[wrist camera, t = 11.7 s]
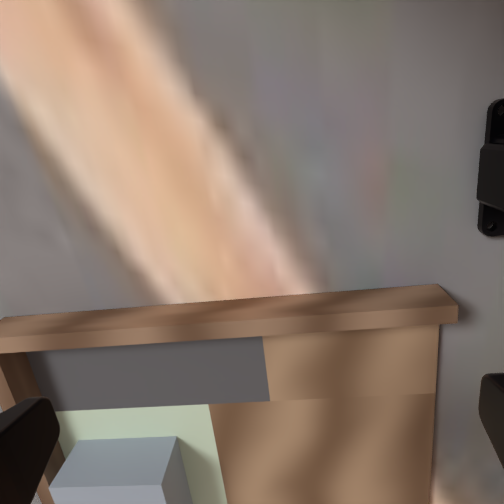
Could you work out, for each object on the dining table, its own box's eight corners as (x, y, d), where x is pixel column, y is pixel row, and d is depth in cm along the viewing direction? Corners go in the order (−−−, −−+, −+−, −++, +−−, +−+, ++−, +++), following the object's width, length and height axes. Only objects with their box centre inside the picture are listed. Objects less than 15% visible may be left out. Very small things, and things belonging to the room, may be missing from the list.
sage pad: (209, 398, 24) (208, 404, 23) (233, 526, 28) (233, 533, 27) (52, 406, 25) (47, 411, 24) (96, 528, 29) (93, 534, 28)
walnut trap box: (437, 283, 20) (458, 305, 18) (421, 586, 29) (434, 627, 26) (4, 317, 23) (-28, 339, 20) (106, 585, 31) (92, 623, 29)
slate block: (176, 436, 24) (161, 484, 21) (194, 510, 27) (182, 564, 23) (78, 440, 25) (48, 487, 22) (103, 511, 27) (80, 565, 24)
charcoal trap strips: (260, 313, 22) (259, 317, 21) (292, 577, 29) (293, 585, 29) (24, 330, 23) (18, 334, 23) (114, 577, 31) (112, 584, 30)
